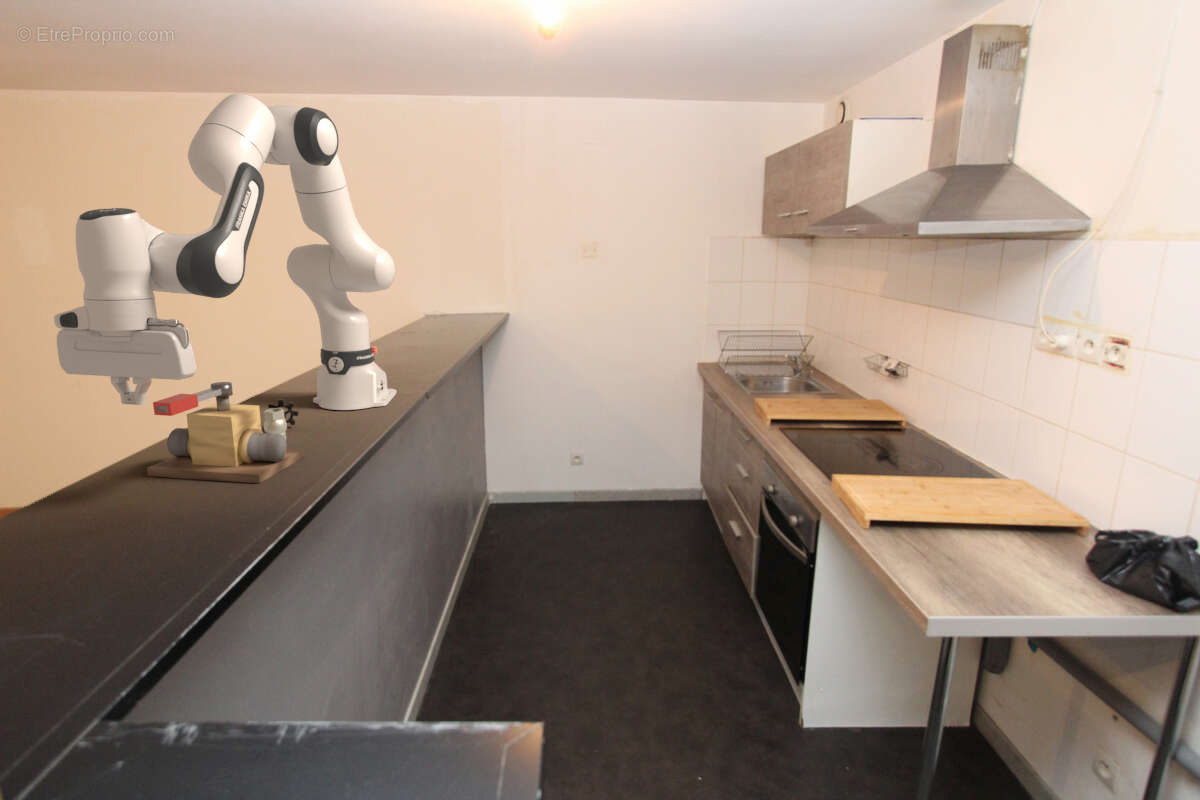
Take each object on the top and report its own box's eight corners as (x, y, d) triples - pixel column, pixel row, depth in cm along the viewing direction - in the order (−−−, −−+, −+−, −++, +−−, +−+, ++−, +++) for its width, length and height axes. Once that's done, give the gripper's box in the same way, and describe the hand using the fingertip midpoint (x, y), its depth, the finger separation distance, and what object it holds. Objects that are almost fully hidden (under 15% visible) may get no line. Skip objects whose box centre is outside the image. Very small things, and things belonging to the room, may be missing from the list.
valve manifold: (203, 450, 123) (196, 385, 120) (303, 456, 122) (298, 391, 119) (148, 476, 109) (137, 403, 106) (259, 483, 108) (252, 410, 105)
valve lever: (219, 392, 114) (218, 381, 114) (236, 393, 114) (235, 382, 113) (153, 414, 99) (151, 402, 98) (172, 415, 99) (171, 403, 98)
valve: (293, 443, 130) (300, 427, 141) (290, 411, 128) (297, 398, 139) (256, 445, 128) (266, 428, 139) (253, 413, 126) (264, 399, 137)
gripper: (200, 317, 101) (209, 402, 104) (79, 312, 103) (92, 396, 106) (171, 322, 95) (182, 412, 98) (42, 316, 96) (57, 405, 100)
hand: (134, 403), depth 102 cm, fingers closed
